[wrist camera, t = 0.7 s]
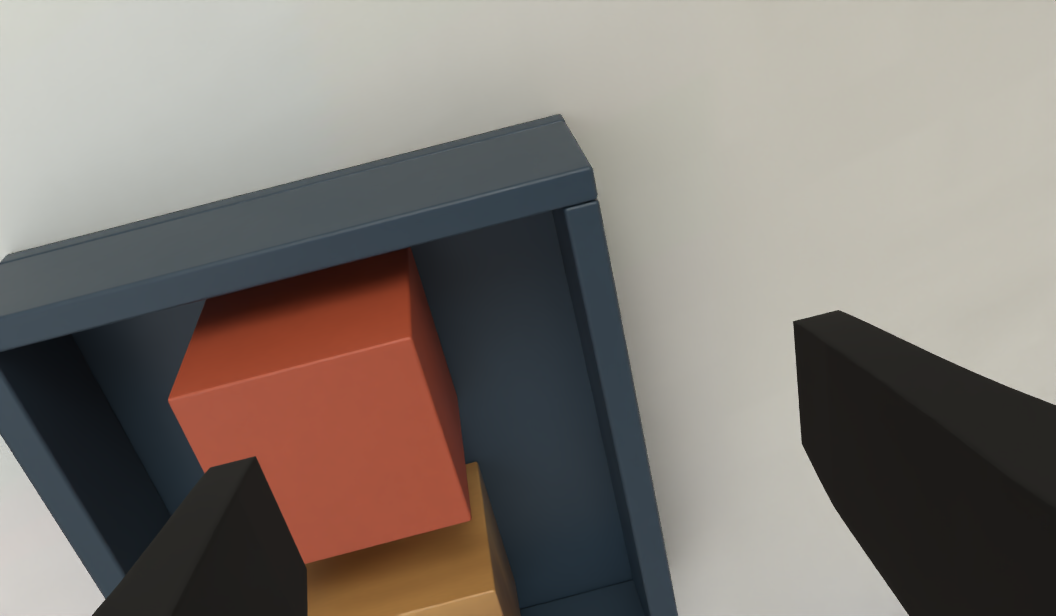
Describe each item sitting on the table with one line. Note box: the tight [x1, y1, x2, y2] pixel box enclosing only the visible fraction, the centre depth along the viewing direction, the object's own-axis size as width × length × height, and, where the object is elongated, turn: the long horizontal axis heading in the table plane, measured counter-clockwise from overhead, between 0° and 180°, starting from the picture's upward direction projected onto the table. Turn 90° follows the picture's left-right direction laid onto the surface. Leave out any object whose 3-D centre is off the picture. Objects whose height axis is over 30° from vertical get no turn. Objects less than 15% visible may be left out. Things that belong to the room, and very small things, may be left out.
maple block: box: [305, 462, 521, 616], centre depth 22 cm, size 4×4×4 cm
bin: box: [0, 114, 678, 616], centre depth 22 cm, size 14×12×4 cm
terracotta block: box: [168, 247, 472, 564], centre depth 19 cm, size 4×4×4 cm
